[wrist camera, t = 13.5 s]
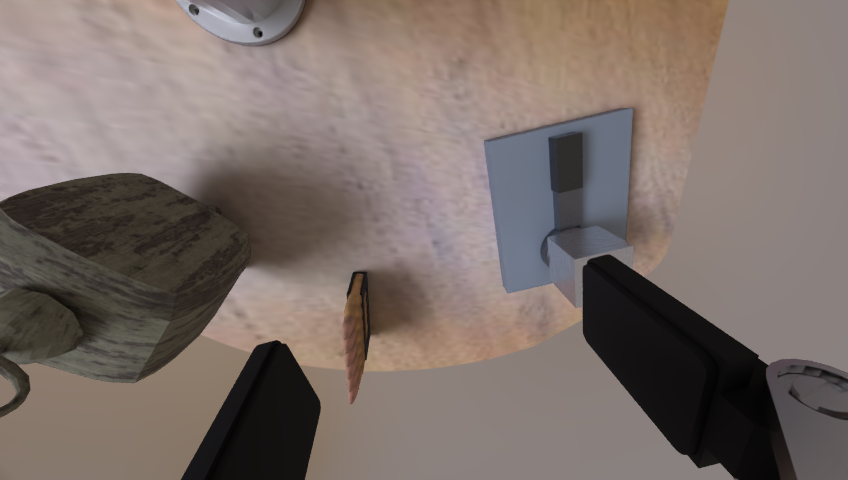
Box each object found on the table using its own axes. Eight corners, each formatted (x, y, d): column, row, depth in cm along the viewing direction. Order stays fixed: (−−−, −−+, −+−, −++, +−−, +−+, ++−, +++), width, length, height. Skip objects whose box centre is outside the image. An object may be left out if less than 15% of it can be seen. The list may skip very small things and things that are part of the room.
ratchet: (532, 141, 33) (556, 145, 28) (589, 127, 33) (624, 129, 28) (541, 274, 39) (562, 297, 34) (589, 263, 39) (617, 284, 34)
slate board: (483, 140, 34) (488, 142, 32) (620, 108, 34) (632, 107, 32) (503, 285, 42) (507, 293, 40) (614, 260, 42) (624, 266, 40)
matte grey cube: (547, 237, 35) (574, 259, 30) (597, 225, 35) (634, 245, 30) (550, 279, 37) (575, 307, 32) (596, 269, 37) (630, 295, 32)
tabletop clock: (131, 218, 35) (-397, 417, 12) (160, 154, 32) (-429, 247, 9) (249, 280, 39) (30, 518, 16) (283, 228, 37) (83, 418, 14)
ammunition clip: (352, 271, 40) (334, 331, 29) (366, 271, 40) (354, 331, 29) (357, 336, 44) (342, 410, 33) (370, 335, 44) (359, 409, 33)
